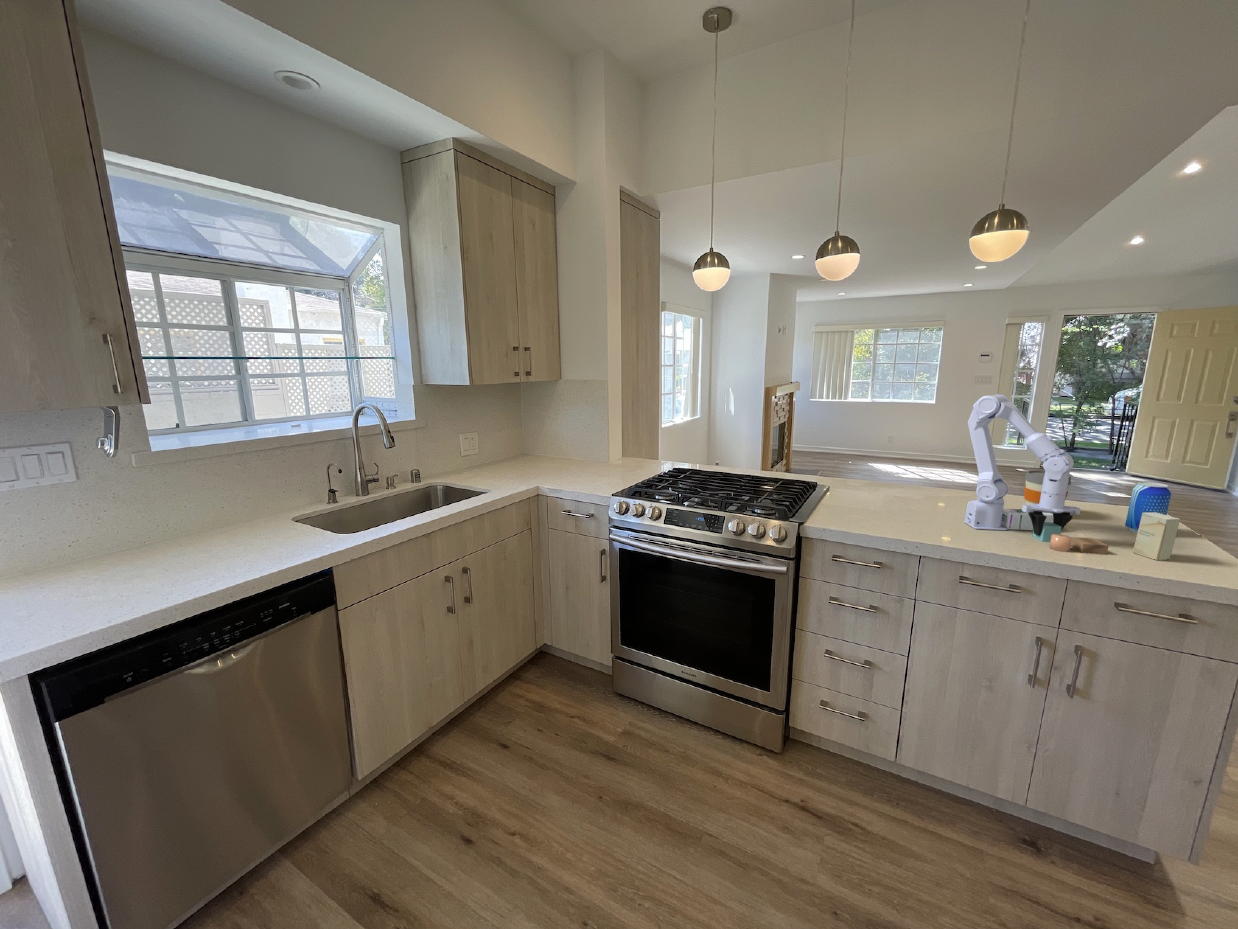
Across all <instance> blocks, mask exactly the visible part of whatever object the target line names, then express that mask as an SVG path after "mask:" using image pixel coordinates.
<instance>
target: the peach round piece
mask: <svg viewBox="0 0 1238 929" xmlns="http://www.w3.org/2000/svg"><path fill="white" fill-rule="evenodd" d="M1071 537H1072V536H1069V535H1066V534H1063V533H1061V534H1052V535H1051V541H1050V542H1049V547H1048V548H1049V549H1050V550H1052V549H1053V550H1052V551H1056V552H1061V553H1062V552H1063V553H1069V552H1070V548H1071V547H1070V544H1071V539H1072V538H1071Z"/></svg>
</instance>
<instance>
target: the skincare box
mask: <svg viewBox="0 0 1238 929" xmlns="http://www.w3.org/2000/svg"><path fill="white" fill-rule="evenodd" d="M1180 522H1181V518H1179V517H1174V516H1171V515H1168V514H1167V515H1163V514H1160V513H1156V512H1148V513H1142V517H1141V521H1140V525H1139V529H1138V533H1136V538H1135V542H1134V545H1133V548H1132V553H1134V554H1137V555H1140V556H1142V555H1143V557H1145V556H1146V557H1145V558H1148V557H1149V559H1150V558H1152V559H1151V560H1153V559H1155V560H1154V561H1168V560H1167V559H1169V560H1170V558H1171V554H1172V551H1173V547H1174V544H1175V540H1176V536H1177V532H1178V528H1179V525H1180Z"/></svg>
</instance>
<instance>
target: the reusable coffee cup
mask: <svg viewBox="0 0 1238 929" xmlns="http://www.w3.org/2000/svg"><path fill="white" fill-rule="evenodd" d="M1044 476H1045V470H1039V469H1038V470H1037V469H1036V470H1027V471H1026V473H1025V477H1024V480H1025V485H1024V487H1023V488H1024V489H1023V490H1024V491H1023V492H1024V493H1023V495H1024V496H1023V497H1024V498H1023V499H1024V500H1025V505H1035V504H1039V503H1040V497H1041V491H1042V485H1043V479H1044ZM1068 479H1069V481H1068V487H1067V492H1066V498H1065V501H1066V499H1067V497H1068V493H1069V491H1068V490H1069V486H1070V485H1072V484H1071V483H1072V476H1071V475H1070V474H1069V478H1068Z"/></svg>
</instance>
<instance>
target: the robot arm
mask: <svg viewBox="0 0 1238 929" xmlns="http://www.w3.org/2000/svg"><path fill="white" fill-rule="evenodd" d="M995 418H998V419H1003V420H1006V421H1007V422H1008V423H1010V424H1011V425H1012V426H1013V427H1014V428H1015V430H1017V431H1018V432H1019V434H1021V435H1022V436H1023V437H1024V438H1025V439H1026V441H1025V442H1026V443H1025V445H1026V447H1027V448H1028V449H1029V450H1030V451H1031V452H1032V453H1033V454H1034V456H1036V457H1037V459H1038V460H1039V461H1041V462H1043V463H1042V467H1043V469H1044V471H1045V476H1044V479H1043V485H1042V491H1041V497H1040V503H1039V504H1035V505H1026V504H1022V508H1021V509H1022V511H1024V512H1026V513H1028V514H1029V516H1030V519H1031V521H1032V525H1033V530H1032V531H1033V532H1034V534H1036V535H1038V536H1040V535H1041V533H1042V527H1043V524H1044V521H1045V519H1046V518H1047V517H1046V516H1044V515H1043V514H1042V513H1053V523H1054V524H1057V525H1059V526H1061V533H1060V534H1062V532H1063V530H1064V529H1065V527H1066V526H1067V524H1069V523H1070V522H1071V521H1072V520H1073V518H1074V516H1073V515H1080V512H1081V508H1080V507H1077V506H1070V505H1065V502H1066V500H1065V498H1066V499H1067V497H1066V492H1067V491H1068V490H1067V487H1068V481H1069V479H1068V478H1069V475H1070V470H1071V469H1073V467H1074V459H1073V458H1072V455H1071V454H1068V453H1066V451H1065V450H1064V449H1061V448H1060V447H1059V446H1058V445H1057V444H1056V443H1055V442H1054V437H1053V436H1052V435H1048V434H1046V433H1044V432H1043V433H1041V432H1038V431H1037V430H1036V428H1035V427H1034V426H1033V425H1032V424H1031V422H1029V420H1028V419H1027V418H1026V417H1025V416H1024V414H1023V413H1022V412H1021V411H1020V410H1019V409H1018V407H1017V406H1016V405H1015V404H1014V403H1013V402H1012V401H1010V400H1009V398H1008V397H1007V396H1005V395H1003V394H993V395H984V396H981V397H980V398H979V399H977V401H976V402H974V404H973V405H972V411H971V413H970V416H969V418H968V420H967V426H968V431H969V436H970V440H971V445H972V450H973V452H974V453H973V454H974V458H975V462H976V466H977V471H978V477H977V479H976V486H977V487H976V489H975V494H976V496H977V499H975V500H973V499H972V500H969V501H968V502H967V505H966V508H965V509H966V510H965V514H964V515H965V516H964V520H963V523H964V524H966V525H968V526H970V527H972V528H973V529H975V530H989V531H990V530H991V531H993V530H994V531H1007V530H1008V529H1006V528H1004V527H1002V526H1001V520H1002V513H1003V509H1004V506H1005V499H1004V497H1005V496H1007V494H1008V493H1009V486H1008V484H1007V483H1006V482H1005V481H1004V478H1003V475H1002V474H1001V473H1000V471H999V469H998V465H997V461H996V457H995V451H994V447H993V444H992V443H993V442H992V439H991V438H992V437H991V434H990V429H989V424H990V423H991V422H992V421H993V420H994V419H995ZM1068 488H1069V487H1068Z"/></svg>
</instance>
